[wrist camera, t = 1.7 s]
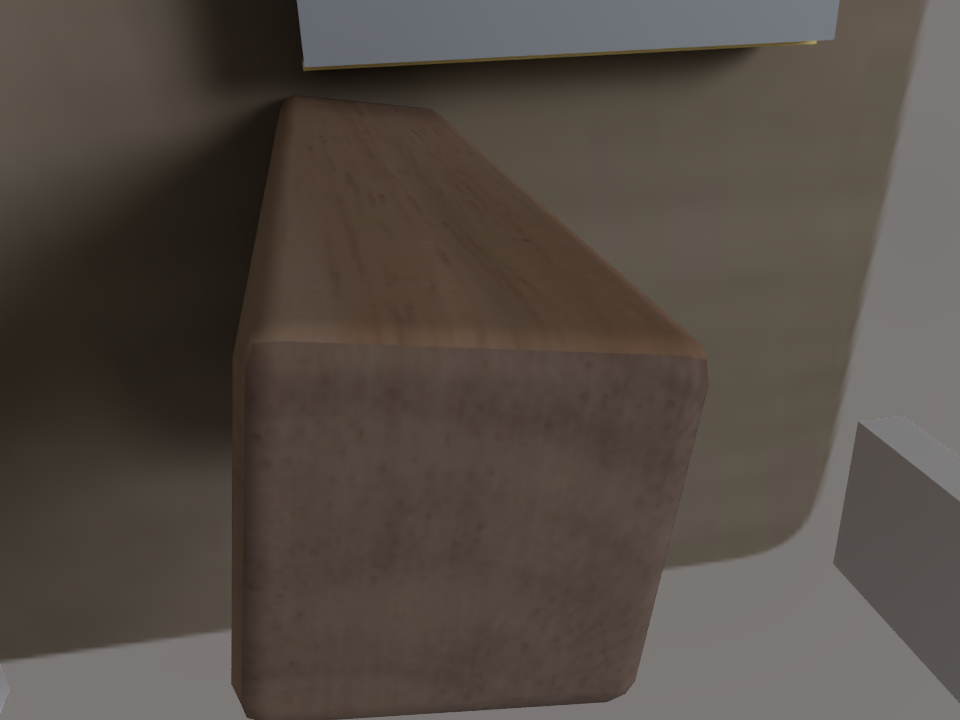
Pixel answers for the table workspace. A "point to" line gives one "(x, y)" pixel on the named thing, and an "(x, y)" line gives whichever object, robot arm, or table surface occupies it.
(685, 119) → the table surface
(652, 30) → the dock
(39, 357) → the table surface
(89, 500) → the table surface
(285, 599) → the wooden block
